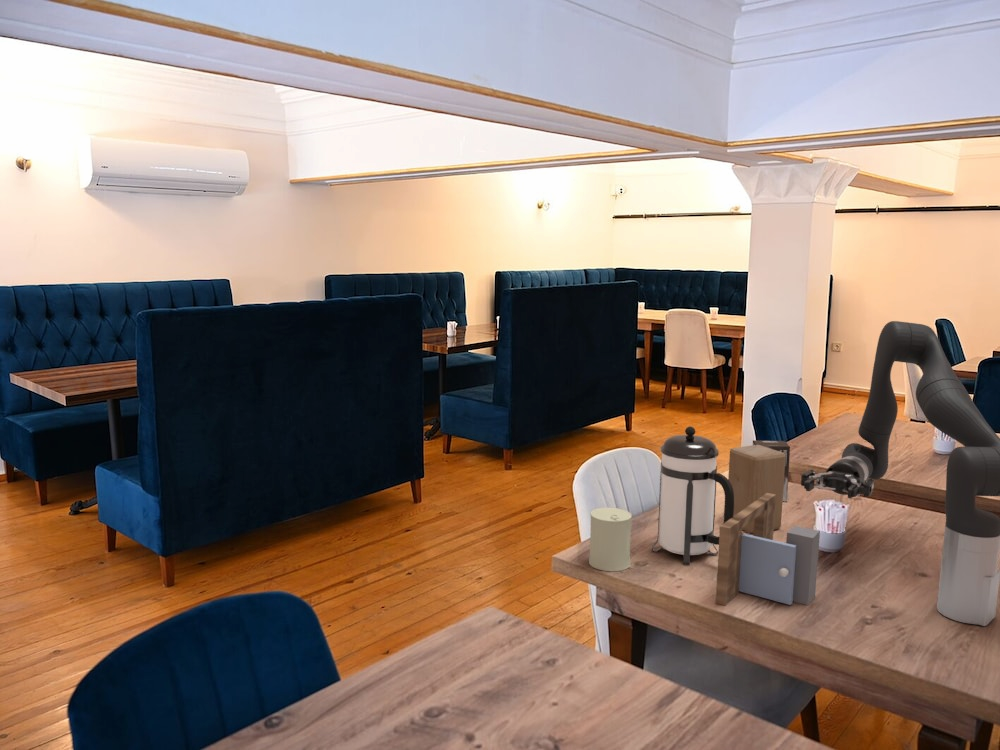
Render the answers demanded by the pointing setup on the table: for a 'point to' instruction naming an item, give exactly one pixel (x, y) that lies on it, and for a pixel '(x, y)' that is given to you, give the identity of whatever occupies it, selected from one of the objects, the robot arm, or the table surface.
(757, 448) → the wooden block
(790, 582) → the door
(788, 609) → the table surface
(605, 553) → the can
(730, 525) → the door frame
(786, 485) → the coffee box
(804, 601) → the grey rectangular block
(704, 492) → the coffee press
